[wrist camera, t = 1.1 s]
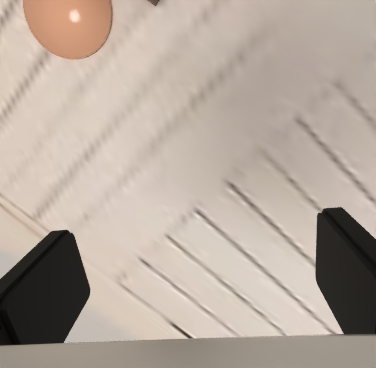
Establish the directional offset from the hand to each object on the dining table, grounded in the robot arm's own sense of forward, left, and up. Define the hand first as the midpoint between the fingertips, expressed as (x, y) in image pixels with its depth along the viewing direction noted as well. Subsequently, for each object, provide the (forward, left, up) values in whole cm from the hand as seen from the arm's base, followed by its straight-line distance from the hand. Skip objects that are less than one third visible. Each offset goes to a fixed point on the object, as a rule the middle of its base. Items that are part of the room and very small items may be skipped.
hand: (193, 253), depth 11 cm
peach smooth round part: (-2, -21, -26) cm, 34 cm away
